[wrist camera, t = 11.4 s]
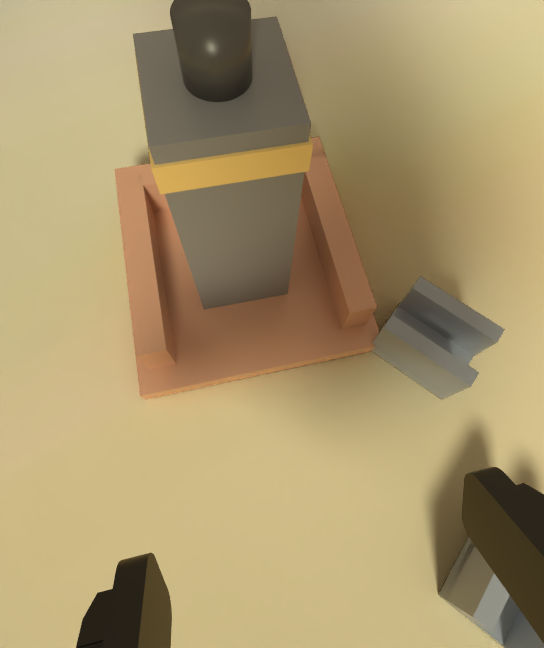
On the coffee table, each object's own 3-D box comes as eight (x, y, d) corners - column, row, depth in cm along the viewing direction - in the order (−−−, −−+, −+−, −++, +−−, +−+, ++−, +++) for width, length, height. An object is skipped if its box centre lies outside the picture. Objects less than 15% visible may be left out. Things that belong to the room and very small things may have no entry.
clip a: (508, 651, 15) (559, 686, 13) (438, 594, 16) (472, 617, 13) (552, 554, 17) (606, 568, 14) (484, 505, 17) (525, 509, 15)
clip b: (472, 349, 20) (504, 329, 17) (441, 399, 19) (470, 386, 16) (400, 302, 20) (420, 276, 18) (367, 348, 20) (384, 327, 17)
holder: (378, 349, 20) (396, 329, 17) (145, 399, 18) (125, 386, 16) (318, 167, 23) (326, 127, 21) (121, 200, 22) (103, 162, 20)
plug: (202, 312, 19) (123, 91, 8) (189, 235, 21) (108, -38, 10) (290, 295, 20) (325, 64, 9) (271, 221, 21) (281, -56, 10)
